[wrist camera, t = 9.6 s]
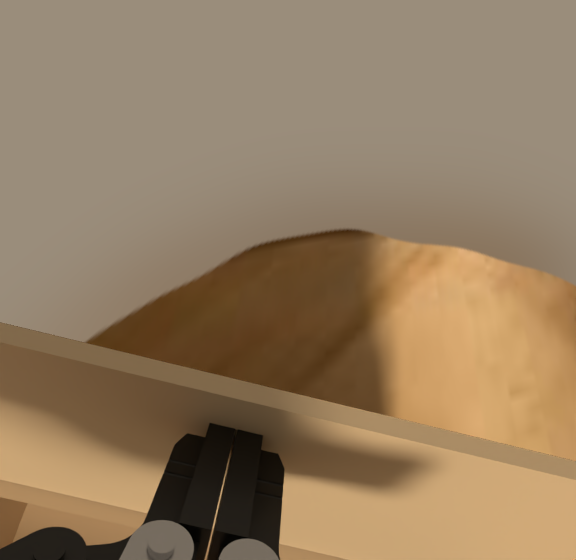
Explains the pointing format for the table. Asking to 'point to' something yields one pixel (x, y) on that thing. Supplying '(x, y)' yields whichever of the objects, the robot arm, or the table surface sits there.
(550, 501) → the carton flap
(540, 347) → the table surface
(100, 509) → the carton
